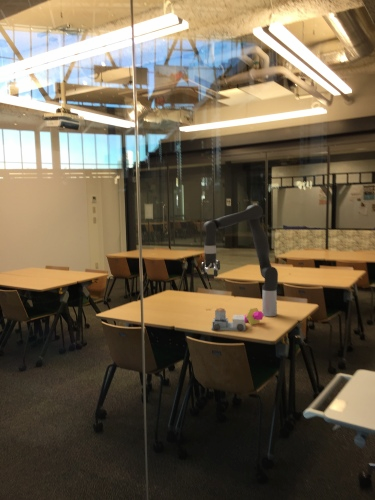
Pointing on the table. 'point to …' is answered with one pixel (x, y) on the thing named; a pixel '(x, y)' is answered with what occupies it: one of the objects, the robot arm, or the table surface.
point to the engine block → (220, 315)
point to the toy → (253, 316)
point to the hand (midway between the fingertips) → (210, 277)
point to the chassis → (230, 324)
